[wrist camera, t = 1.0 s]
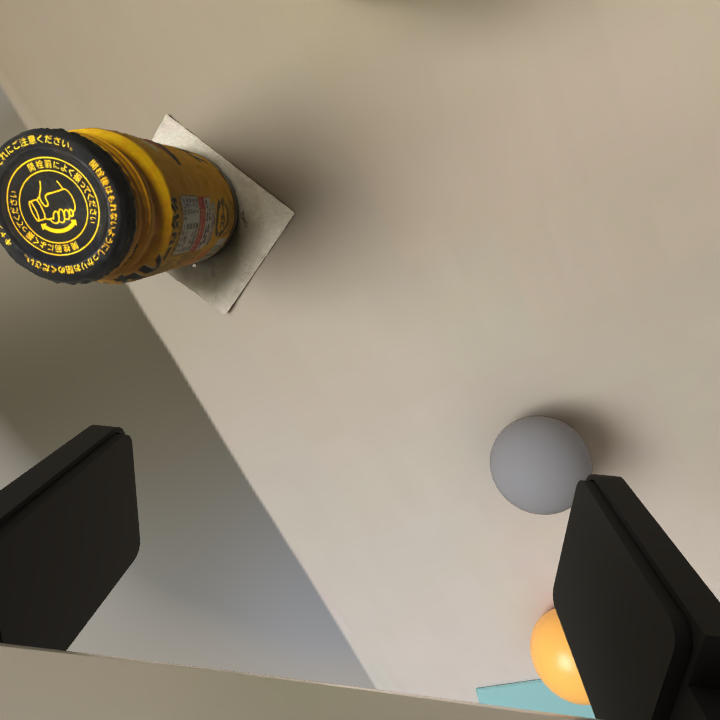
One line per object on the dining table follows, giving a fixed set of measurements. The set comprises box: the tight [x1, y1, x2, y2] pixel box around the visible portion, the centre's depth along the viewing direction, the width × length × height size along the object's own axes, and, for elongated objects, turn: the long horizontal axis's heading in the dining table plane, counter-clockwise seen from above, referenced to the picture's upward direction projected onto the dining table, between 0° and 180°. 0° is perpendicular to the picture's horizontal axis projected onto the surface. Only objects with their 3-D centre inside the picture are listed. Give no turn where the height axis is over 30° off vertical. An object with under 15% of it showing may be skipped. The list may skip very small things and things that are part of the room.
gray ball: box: [490, 416, 593, 515], centre depth 29 cm, size 6×6×6 cm
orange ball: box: [530, 608, 590, 705], centre depth 33 cm, size 6×6×6 cm
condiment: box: [0, 114, 295, 315], centre depth 23 cm, size 7×8×12 cm
